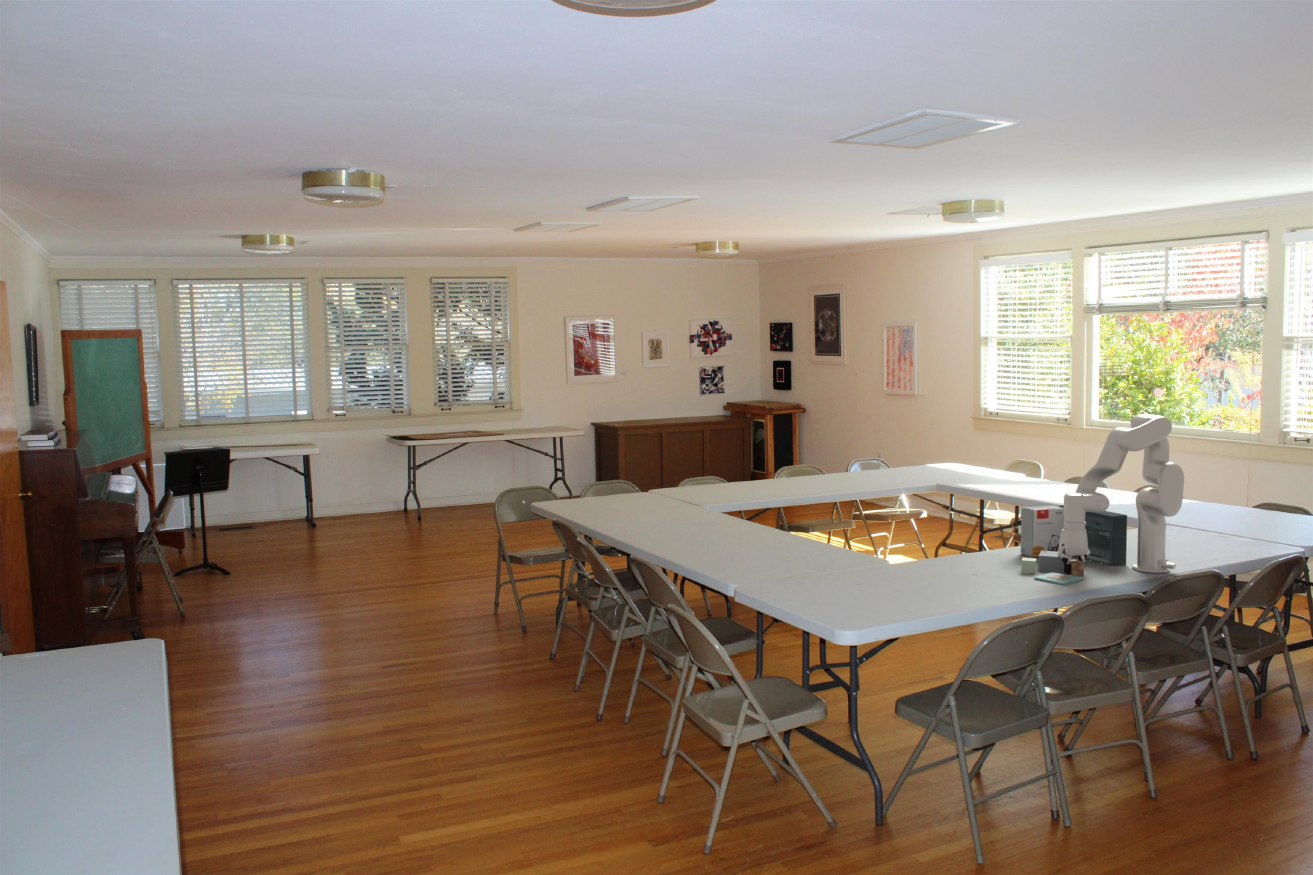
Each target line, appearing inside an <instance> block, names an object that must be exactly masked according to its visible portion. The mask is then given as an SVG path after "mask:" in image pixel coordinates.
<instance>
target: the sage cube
mask: <svg viewBox="0 0 1313 875" xmlns="http://www.w3.org/2000/svg"><path fill="white" fill-rule="evenodd" d="M1030 573H1034V575H1036V574H1037V557H1022V558H1021V574H1030Z"/></svg>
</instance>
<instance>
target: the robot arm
mask: <svg viewBox="0 0 1313 875" xmlns="http://www.w3.org/2000/svg"><path fill="white" fill-rule="evenodd" d="M1172 430H1173V424H1172V421H1171V420H1170V419H1169V418H1168V417H1167V416H1162V415H1157V414H1145V413H1141V414H1136V415H1134V416H1133V417H1132V418H1131V420H1130V428H1129V427H1116V428H1113V429H1112V430H1110V432H1109V434H1108V435H1107V438H1106V440H1105V442H1104V445H1103V447H1102V449H1101V452H1100V455H1099V457H1098V458H1097V461H1096V463H1095V464H1094V465H1093V466H1092V467H1091V468H1090V469H1088V471H1087V472H1085V474H1084V475H1083V476H1082V478H1081V479H1080V481H1079V483H1078V484H1077V487H1076V490H1075V492H1068V493H1065V494H1064V496H1063V505H1064V523H1063V529H1062V530H1061V534H1060V540H1059V552H1058V554H1057V556H1058V557H1059V558H1060V559H1061V560H1062V562H1063V563H1064V573H1066V574H1065V575H1067V574H1071V564H1070V561H1071V560H1072V557H1074V556H1077V557H1076V560H1078V561H1082V562H1084V563H1085V562H1086V558H1087V556H1088V555H1089V554H1090V550H1089V549H1088V539H1087V532H1086V529H1085V525H1086V524H1087V523H1086V522H1085V512H1093V513H1101V512H1104V511H1107V510H1108V508H1109V507H1110V499H1109V498H1108V497H1107V496H1106V494H1103V493H1100V492H1096V491H1097V489H1098V487H1099V485H1101V483H1102V482H1103V481H1105V479H1108V478H1110V477H1112V476H1115V475H1116V474H1118V473H1119V472H1120V471H1121V469H1122V467H1123V465H1124V462H1125V460H1126V458H1127V455H1128V453H1129V452H1139V451H1142V450H1143V449H1144V450H1143V461H1142V473H1141V474H1142V479H1143V481H1144V482H1146V483H1147V484H1151V485H1152V486H1153V485H1155V486H1158V488H1156V487H1143V488H1142V489H1141V490H1139V491H1138V492H1137V494H1136V496H1135V508H1136V513H1137V547H1136V548H1137V550H1136V552H1137V554H1136V563H1134V564H1133V565H1132V569H1134V570H1135V571H1139V572H1142V573H1149V574H1164V573H1168V572H1170V569H1171V570H1175V569H1176V566H1177V565H1176V564H1175V563H1173V562H1169V559H1168V558H1166V546H1167V545H1166V543H1167V542H1166V539H1167V538H1166V537H1167V522H1166V518H1169V517H1170V518H1171V517H1173V516H1176V515H1178V513H1179V512H1180V510H1181V508H1182V506H1183V500H1184V499H1183V496H1184V488H1185V474H1184V470H1183V468H1182V467H1181V465H1179V464H1178V463H1175V462H1172V461H1170V442H1169V440H1168V436H1169V435H1170V434H1171V432H1172ZM1063 554H1064V556H1063ZM1067 557H1068V558H1067Z"/></svg>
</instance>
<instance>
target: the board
mask: <svg viewBox="0 0 1313 875" xmlns="http://www.w3.org/2000/svg"><path fill="white" fill-rule="evenodd" d="M1033 578H1034V580H1035V579H1036V580H1035V581H1040V580H1042V581H1041V582H1046V583H1052V584H1055V583H1056V585H1060V586H1067V585H1071V584H1074V583H1077V582H1080V581H1083V577H1081V576H1070V575H1067V574H1063V573H1060V572H1055V571H1050V572H1048V573H1045V574H1041V575H1037V576H1034V577H1033Z"/></svg>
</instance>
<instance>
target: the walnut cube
mask: <svg viewBox="0 0 1313 875" xmlns="http://www.w3.org/2000/svg"><path fill="white" fill-rule="evenodd" d="M1070 564H1071V574H1066V573H1064V566H1063V572H1062V574H1063V573H1064V574H1065V575H1071V576H1075V577H1081V576H1084V575H1085V574H1084V573H1085V562H1082V561H1078V560H1077V559H1074V558H1073V559H1071V561H1070Z"/></svg>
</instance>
